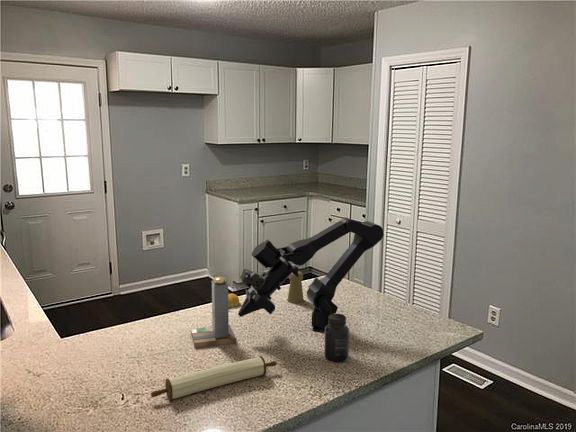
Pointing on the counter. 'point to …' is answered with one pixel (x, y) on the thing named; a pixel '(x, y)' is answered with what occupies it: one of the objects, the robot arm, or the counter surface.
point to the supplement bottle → (336, 339)
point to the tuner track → (210, 337)
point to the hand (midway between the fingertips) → (239, 315)
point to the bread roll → (232, 300)
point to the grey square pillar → (220, 307)
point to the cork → (295, 289)
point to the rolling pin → (214, 377)
